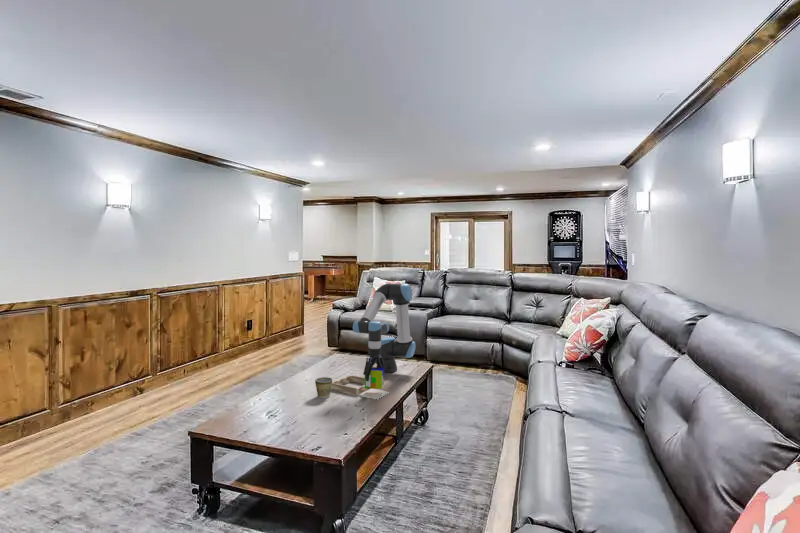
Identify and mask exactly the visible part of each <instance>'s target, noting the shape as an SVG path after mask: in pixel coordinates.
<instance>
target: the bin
mask: <svg viewBox="0 0 800 533" xmlns="http://www.w3.org/2000/svg"><path fill="white" fill-rule="evenodd" d="M355 382H356V384H362V385H361V386H359V387H353V386H349V385H346V384H349V383H355ZM364 386H365V376H364V377H363V376H359V375H357V376H356V375H353V374H350V375H348V376H345V377H342V378H340V379H337V380H335V381H332V385H331V391H335V392H339V393H340V392H341V393H344V394H345V393H346V394H347V395H348V394H349V395H354V396H359V394H361V393H363V392H365V391H367V390H369V388H364Z"/></svg>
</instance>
